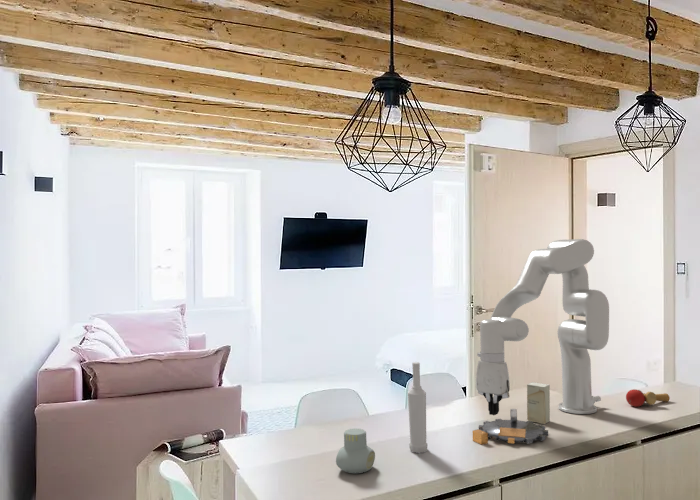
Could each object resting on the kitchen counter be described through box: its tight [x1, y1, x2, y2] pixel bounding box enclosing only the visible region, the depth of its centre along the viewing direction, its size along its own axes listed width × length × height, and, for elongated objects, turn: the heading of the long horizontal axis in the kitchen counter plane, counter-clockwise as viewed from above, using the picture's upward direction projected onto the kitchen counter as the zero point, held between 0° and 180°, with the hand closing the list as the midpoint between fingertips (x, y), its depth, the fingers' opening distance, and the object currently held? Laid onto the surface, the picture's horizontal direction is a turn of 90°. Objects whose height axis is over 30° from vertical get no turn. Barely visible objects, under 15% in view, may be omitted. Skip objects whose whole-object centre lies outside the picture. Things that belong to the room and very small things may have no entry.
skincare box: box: [526, 381, 551, 425], centre depth 182 cm, size 6×4×12 cm
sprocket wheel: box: [478, 408, 549, 444], centre depth 169 cm, size 20×20×5 cm
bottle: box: [407, 361, 428, 454], centre depth 159 cm, size 5×5×25 cm
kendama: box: [625, 388, 671, 408], centre depth 199 cm, size 8×6×18 cm
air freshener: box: [335, 428, 376, 474], centre depth 145 cm, size 11×8×10 cm
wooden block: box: [472, 428, 489, 446], centre depth 167 cm, size 17×7×3 cm, turn 116°
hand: (493, 414), depth 180 cm, fingers closed
